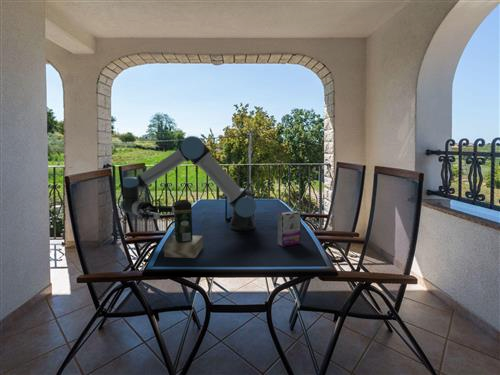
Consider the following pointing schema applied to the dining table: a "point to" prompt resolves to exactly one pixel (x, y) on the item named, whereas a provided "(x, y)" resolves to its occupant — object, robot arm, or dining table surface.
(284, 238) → the candy bar box
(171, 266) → the dining table surface
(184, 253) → the birch block
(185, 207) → the coffee jar
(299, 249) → the dining table surface
